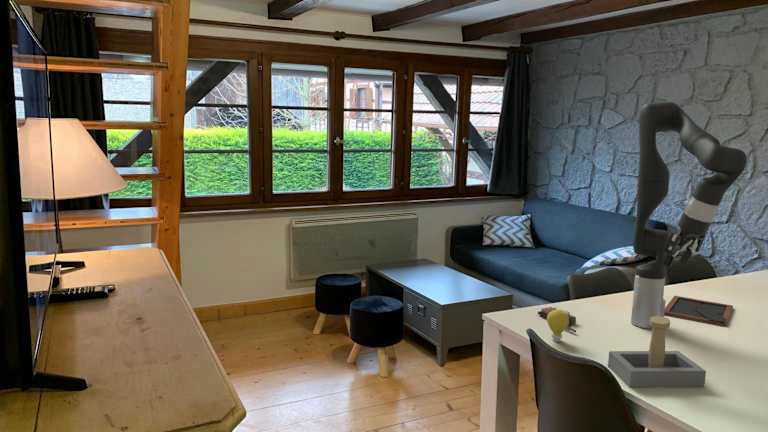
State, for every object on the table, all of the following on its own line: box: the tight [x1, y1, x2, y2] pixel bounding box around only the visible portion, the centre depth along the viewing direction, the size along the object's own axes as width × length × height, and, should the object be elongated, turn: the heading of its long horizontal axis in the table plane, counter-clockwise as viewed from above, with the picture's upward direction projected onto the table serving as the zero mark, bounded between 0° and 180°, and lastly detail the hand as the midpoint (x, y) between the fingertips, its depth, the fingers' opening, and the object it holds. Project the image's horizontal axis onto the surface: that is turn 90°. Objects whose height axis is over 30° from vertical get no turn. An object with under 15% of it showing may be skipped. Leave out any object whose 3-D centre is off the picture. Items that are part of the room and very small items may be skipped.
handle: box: [648, 316, 671, 368], centre depth 152 cm, size 5×6×15 cm
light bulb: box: [546, 308, 569, 343], centre depth 177 cm, size 7×7×10 cm
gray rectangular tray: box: [607, 350, 707, 388], centre depth 153 cm, size 20×13×4 cm, turn 92°
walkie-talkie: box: [537, 306, 577, 333], centre depth 193 cm, size 9×4×20 cm
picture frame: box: [664, 295, 734, 328], centre depth 208 cm, size 20×2×25 cm
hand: (674, 265), depth 163 cm, fingers open, 8 cm apart
